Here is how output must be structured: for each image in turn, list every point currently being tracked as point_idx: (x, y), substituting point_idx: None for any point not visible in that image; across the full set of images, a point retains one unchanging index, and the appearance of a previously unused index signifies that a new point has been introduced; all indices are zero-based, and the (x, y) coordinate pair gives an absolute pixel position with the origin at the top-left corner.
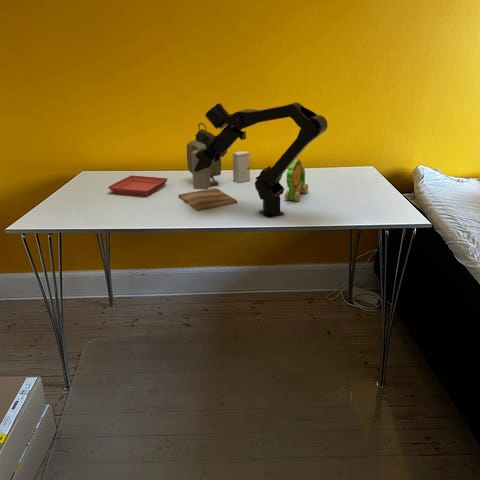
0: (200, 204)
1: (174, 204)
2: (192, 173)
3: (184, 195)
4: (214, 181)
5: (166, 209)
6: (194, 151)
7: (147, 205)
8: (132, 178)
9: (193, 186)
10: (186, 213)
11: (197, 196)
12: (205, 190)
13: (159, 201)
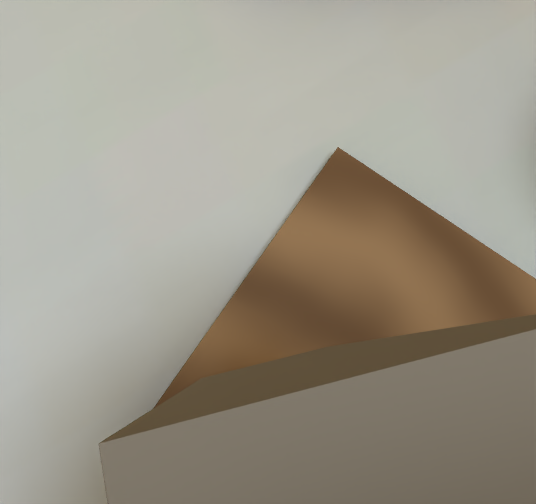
0: None
1: (190, 209)
2: (189, 386)
3: (341, 196)
4: None
5: (77, 214)
6: (454, 427)
7: (104, 59)
8: None
9: (199, 379)
10: (49, 398)
11: (364, 298)
12: (507, 279)
13: (204, 87)
